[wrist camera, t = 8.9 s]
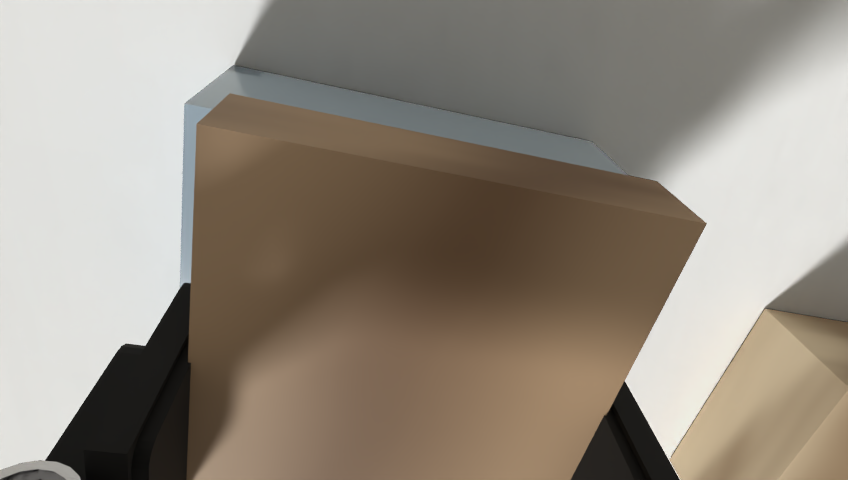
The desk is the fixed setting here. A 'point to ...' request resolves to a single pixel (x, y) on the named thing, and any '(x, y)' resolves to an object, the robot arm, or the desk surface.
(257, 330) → the lid
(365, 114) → the light blue open tray
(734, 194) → the desk surface
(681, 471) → the wooden block
